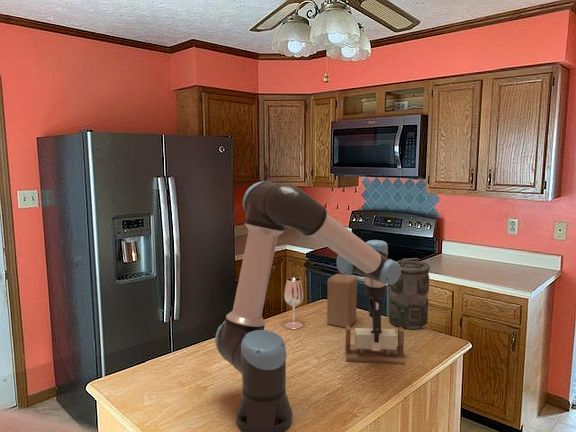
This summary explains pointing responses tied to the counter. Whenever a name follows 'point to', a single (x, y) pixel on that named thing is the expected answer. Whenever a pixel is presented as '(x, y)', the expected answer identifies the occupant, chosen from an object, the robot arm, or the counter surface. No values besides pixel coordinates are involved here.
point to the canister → (410, 295)
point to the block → (341, 300)
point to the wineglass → (293, 299)
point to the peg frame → (375, 356)
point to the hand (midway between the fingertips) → (374, 342)
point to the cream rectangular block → (365, 338)
